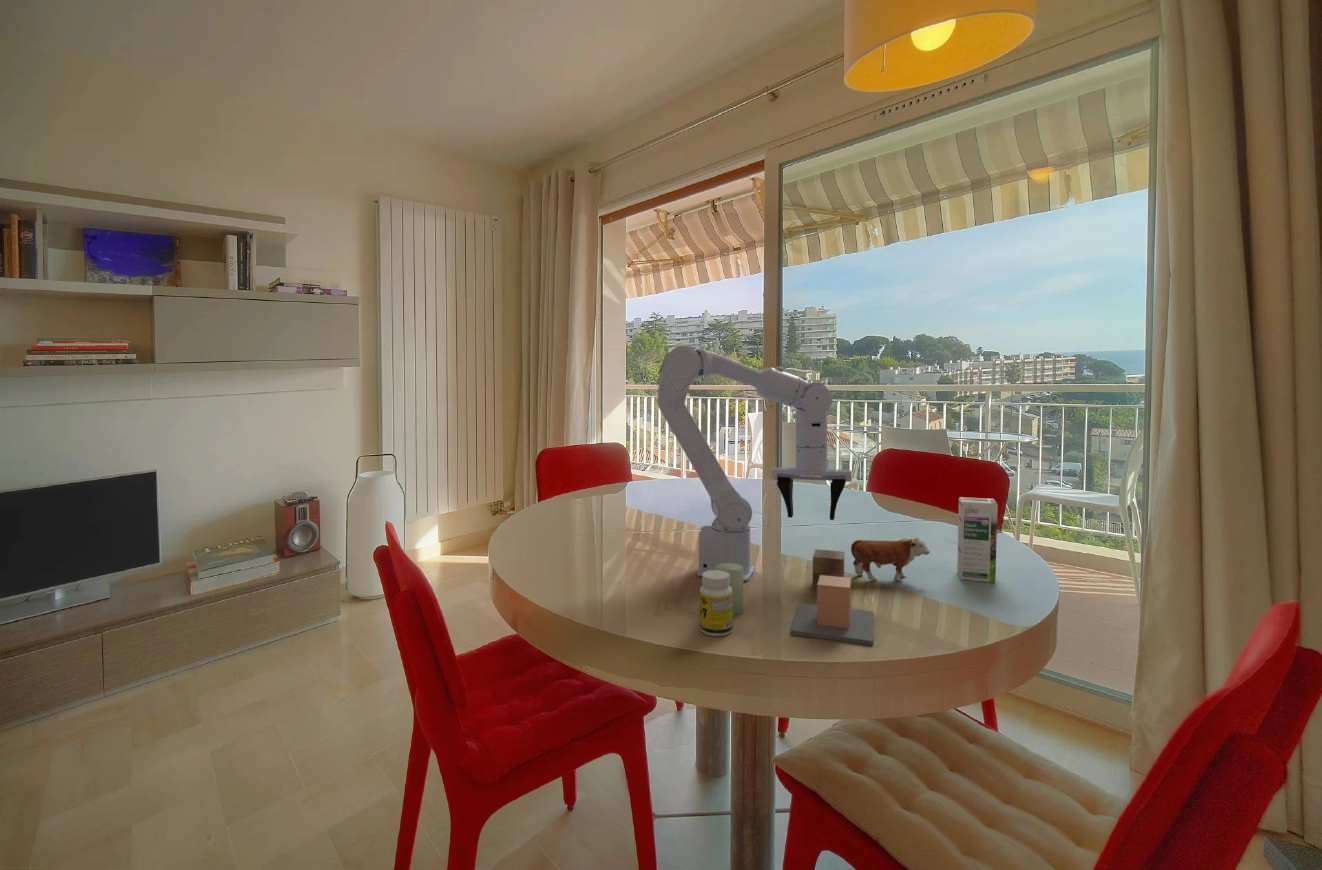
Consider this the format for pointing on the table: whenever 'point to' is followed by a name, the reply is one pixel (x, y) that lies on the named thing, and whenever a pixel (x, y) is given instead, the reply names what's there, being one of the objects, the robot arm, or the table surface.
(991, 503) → the syrup box
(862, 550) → the bull figurine
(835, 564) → the walnut block
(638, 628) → the table surface
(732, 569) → the sage cylinder
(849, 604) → the terracotta brick
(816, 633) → the slate mat
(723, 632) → the supplement bottle
